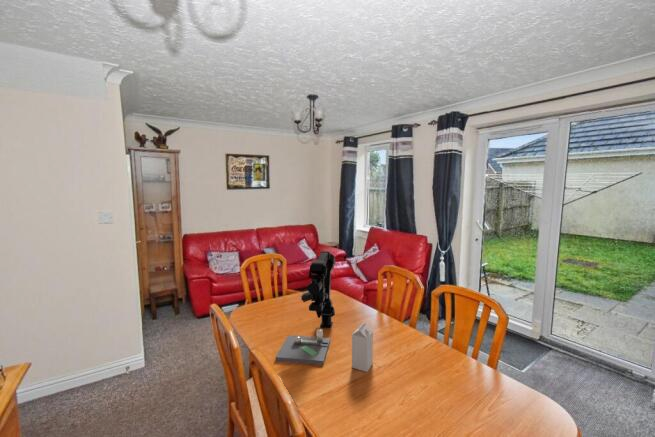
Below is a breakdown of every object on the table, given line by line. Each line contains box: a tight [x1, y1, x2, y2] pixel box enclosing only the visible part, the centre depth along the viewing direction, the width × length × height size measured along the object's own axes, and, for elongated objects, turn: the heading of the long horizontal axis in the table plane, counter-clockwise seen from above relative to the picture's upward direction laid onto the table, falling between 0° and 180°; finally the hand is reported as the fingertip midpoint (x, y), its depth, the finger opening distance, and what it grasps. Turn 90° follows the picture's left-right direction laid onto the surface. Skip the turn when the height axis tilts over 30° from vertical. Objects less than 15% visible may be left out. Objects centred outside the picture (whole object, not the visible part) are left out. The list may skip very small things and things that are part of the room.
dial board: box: [274, 335, 331, 366], centre depth 144 cm, size 20×22×2 cm
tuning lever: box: [293, 328, 328, 345], centre depth 146 cm, size 17×4×7 cm, turn 81°
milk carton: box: [351, 321, 374, 373], centre depth 130 cm, size 7×7×19 cm
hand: (319, 317), depth 151 cm, fingers closed
